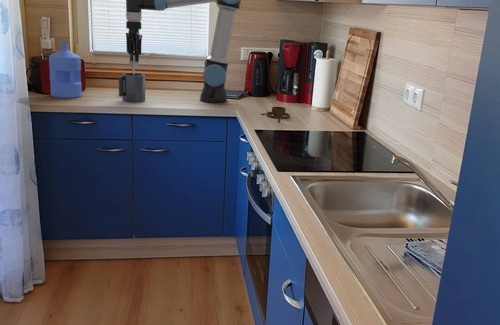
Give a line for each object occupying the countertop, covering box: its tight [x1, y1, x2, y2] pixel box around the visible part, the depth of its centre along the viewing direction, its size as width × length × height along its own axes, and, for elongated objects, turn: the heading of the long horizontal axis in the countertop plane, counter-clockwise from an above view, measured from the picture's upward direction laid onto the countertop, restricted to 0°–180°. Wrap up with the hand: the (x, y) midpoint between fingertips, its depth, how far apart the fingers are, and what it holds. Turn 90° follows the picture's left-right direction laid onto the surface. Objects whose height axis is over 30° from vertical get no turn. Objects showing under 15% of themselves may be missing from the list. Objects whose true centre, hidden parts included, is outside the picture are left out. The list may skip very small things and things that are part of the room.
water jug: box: [48, 41, 83, 99], centre depth 266 cm, size 16×16×28 cm
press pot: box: [118, 72, 146, 104], centre depth 267 cm, size 14×11×14 cm
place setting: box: [260, 106, 291, 124], centre depth 252 cm, size 18×20×6 cm
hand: (133, 67), depth 265 cm, fingers closed on plunger, 4 cm apart
